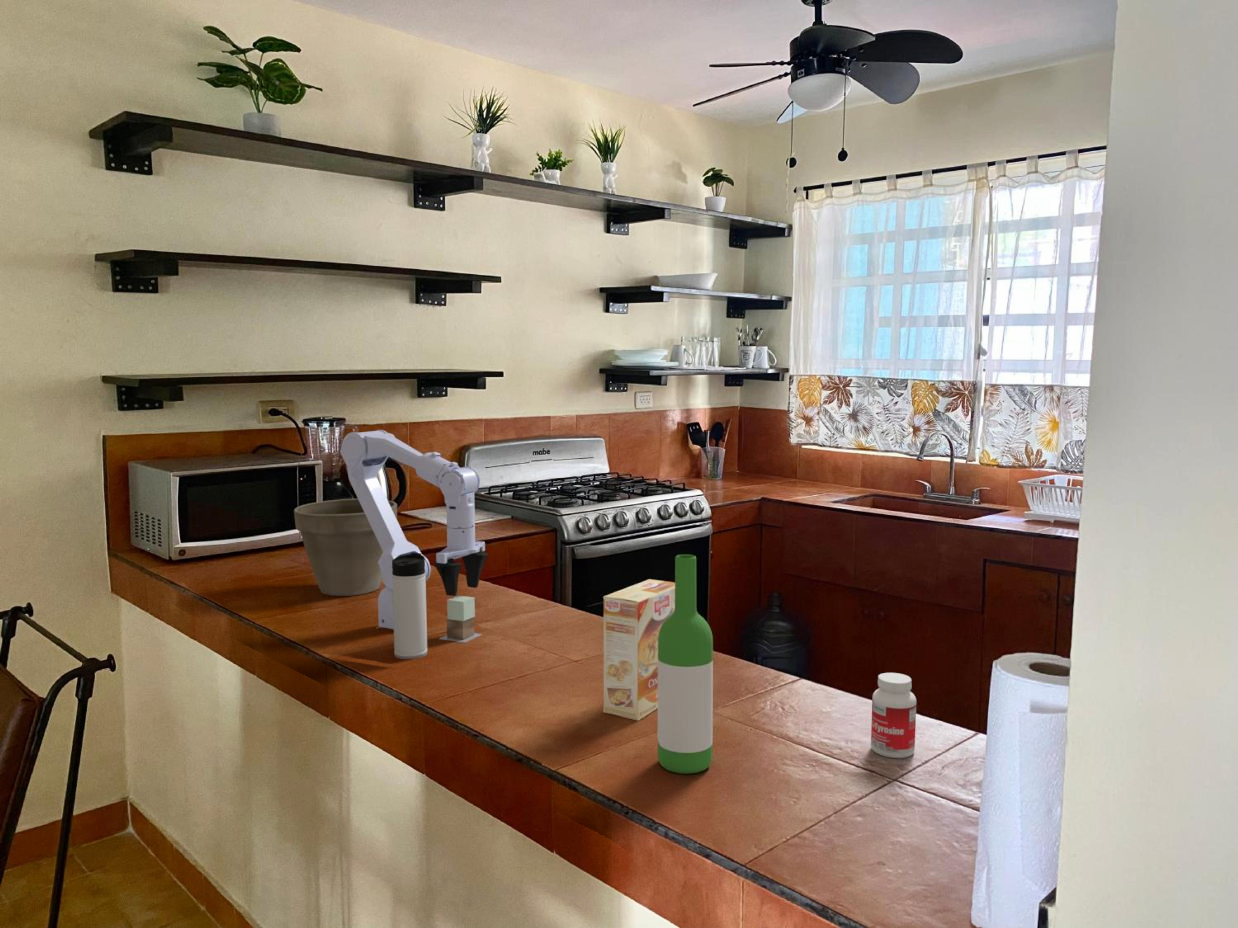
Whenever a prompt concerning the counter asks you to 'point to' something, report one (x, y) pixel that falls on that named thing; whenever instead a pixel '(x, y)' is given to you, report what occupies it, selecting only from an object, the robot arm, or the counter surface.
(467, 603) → the green block
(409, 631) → the travel mug
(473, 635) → the white square board
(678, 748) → the wine bottle
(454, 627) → the walnut block
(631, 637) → the coffeecake box
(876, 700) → the pill bottle
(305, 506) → the plant pot
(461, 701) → the counter surface
